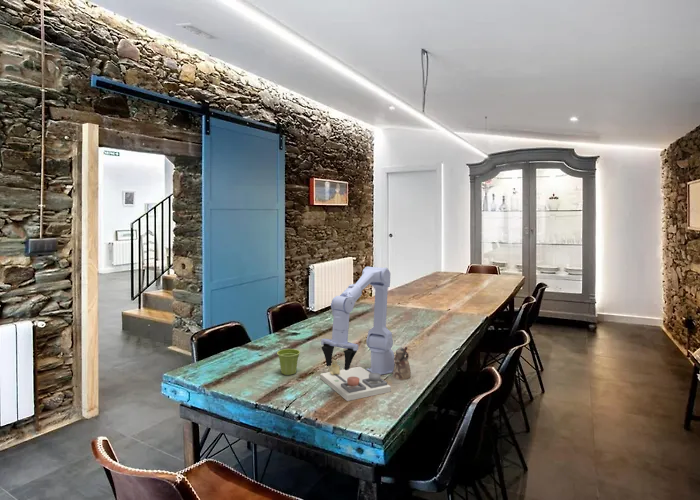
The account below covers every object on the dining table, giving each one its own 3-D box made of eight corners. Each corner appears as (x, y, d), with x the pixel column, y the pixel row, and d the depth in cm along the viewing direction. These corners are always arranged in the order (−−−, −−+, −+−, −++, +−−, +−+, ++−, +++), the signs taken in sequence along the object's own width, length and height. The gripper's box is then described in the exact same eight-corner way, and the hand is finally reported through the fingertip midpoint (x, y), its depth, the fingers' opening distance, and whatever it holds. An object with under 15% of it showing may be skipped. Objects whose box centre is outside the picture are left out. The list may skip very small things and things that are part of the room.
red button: (355, 380, 161) (355, 375, 160) (361, 384, 157) (361, 379, 156) (345, 382, 159) (345, 377, 158) (350, 386, 155) (350, 381, 155)
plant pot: (301, 368, 184) (300, 348, 183) (299, 376, 175) (299, 355, 174) (279, 368, 184) (278, 348, 183) (275, 377, 174) (275, 355, 174)
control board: (360, 371, 181) (360, 364, 180) (390, 391, 159) (390, 383, 159) (320, 378, 173) (320, 371, 172) (347, 401, 151) (347, 392, 151)
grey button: (376, 376, 165) (376, 371, 164) (382, 380, 161) (382, 375, 161) (366, 378, 163) (366, 373, 162) (372, 382, 159) (372, 377, 159)
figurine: (389, 374, 177) (389, 345, 176) (405, 372, 179) (405, 344, 178) (397, 380, 170) (397, 350, 169) (413, 378, 172) (414, 348, 171)
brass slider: (336, 371, 174) (336, 358, 174) (339, 373, 171) (339, 361, 171) (329, 372, 173) (329, 360, 172) (332, 374, 170) (332, 362, 170)
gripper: (317, 327, 156) (314, 365, 155) (352, 333, 148) (349, 373, 148) (328, 326, 162) (325, 362, 161) (362, 331, 154) (359, 369, 154)
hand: (337, 367), depth 155 cm, fingers open, 7 cm apart
